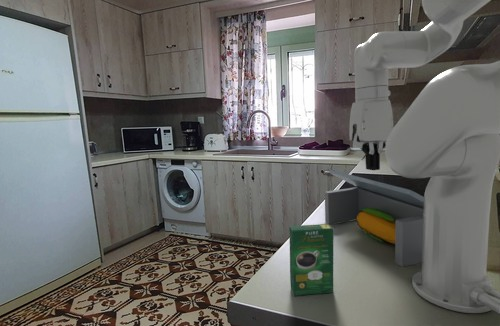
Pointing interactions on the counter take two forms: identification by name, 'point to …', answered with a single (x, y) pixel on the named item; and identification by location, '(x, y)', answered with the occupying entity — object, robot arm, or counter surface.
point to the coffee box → (311, 259)
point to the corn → (377, 224)
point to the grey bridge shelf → (405, 214)
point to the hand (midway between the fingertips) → (372, 169)
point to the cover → (382, 188)
